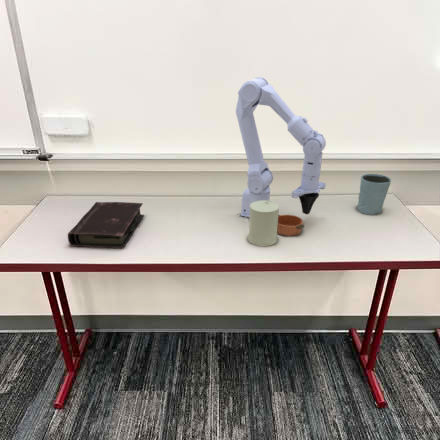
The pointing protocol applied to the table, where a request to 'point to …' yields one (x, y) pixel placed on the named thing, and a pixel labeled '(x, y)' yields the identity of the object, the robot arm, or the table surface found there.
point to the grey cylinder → (372, 193)
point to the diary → (106, 225)
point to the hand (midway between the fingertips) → (305, 213)
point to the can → (263, 223)
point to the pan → (289, 225)
